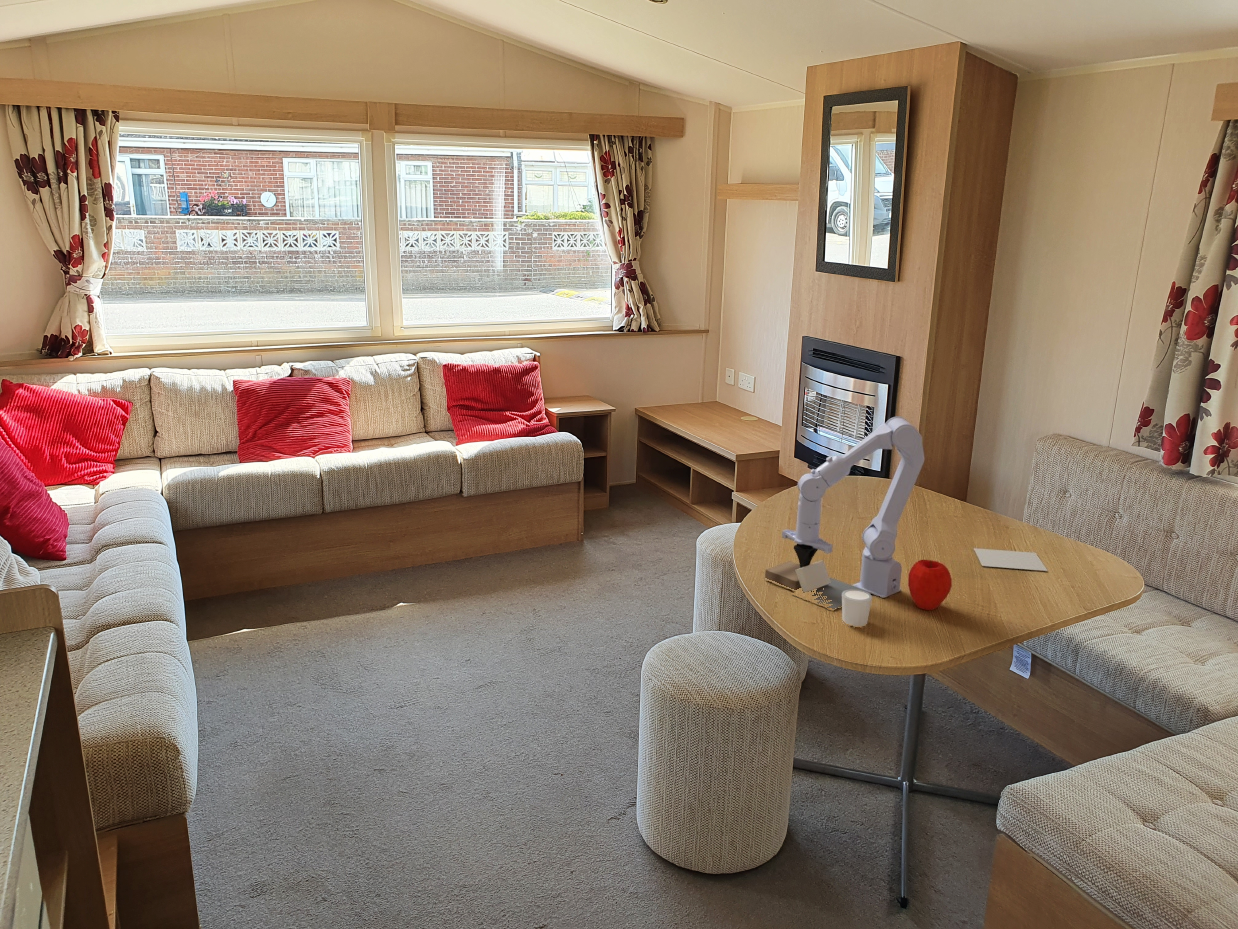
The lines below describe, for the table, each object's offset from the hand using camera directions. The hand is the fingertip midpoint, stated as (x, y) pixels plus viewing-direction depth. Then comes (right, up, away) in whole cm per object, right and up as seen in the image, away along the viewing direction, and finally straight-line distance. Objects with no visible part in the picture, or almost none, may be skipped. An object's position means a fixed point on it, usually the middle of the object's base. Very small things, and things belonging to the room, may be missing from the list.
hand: (804, 571), depth 231 cm
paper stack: (+56, -1, +17) cm, 59 cm away
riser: (-2, -3, +4) cm, 5 cm away
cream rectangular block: (+1, -1, -1) cm, 2 cm away
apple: (+28, -8, -11) cm, 31 cm away
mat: (+6, -5, -4) cm, 9 cm away
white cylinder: (+8, -10, -19) cm, 23 cm away
